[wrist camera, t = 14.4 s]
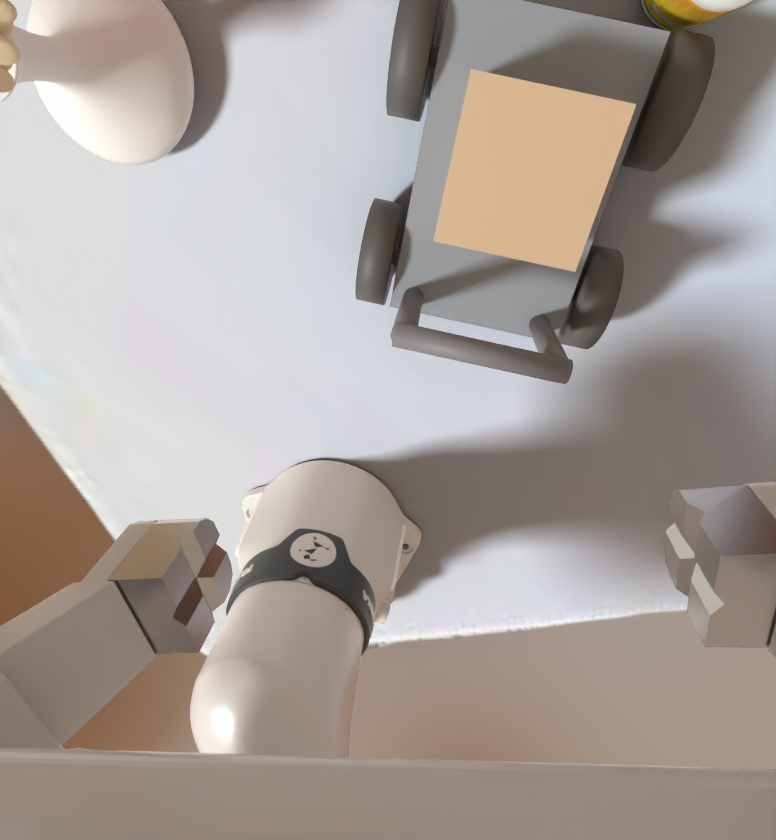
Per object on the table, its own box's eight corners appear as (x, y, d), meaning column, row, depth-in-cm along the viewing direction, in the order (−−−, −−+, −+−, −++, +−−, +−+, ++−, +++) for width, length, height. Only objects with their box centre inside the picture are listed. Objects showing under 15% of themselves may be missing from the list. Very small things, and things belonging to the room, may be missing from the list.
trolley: (571, 330, 42) (621, 413, 29) (366, 285, 42) (328, 349, 29) (681, 45, 32) (822, -11, 20) (415, -11, 32) (389, -102, 20)
